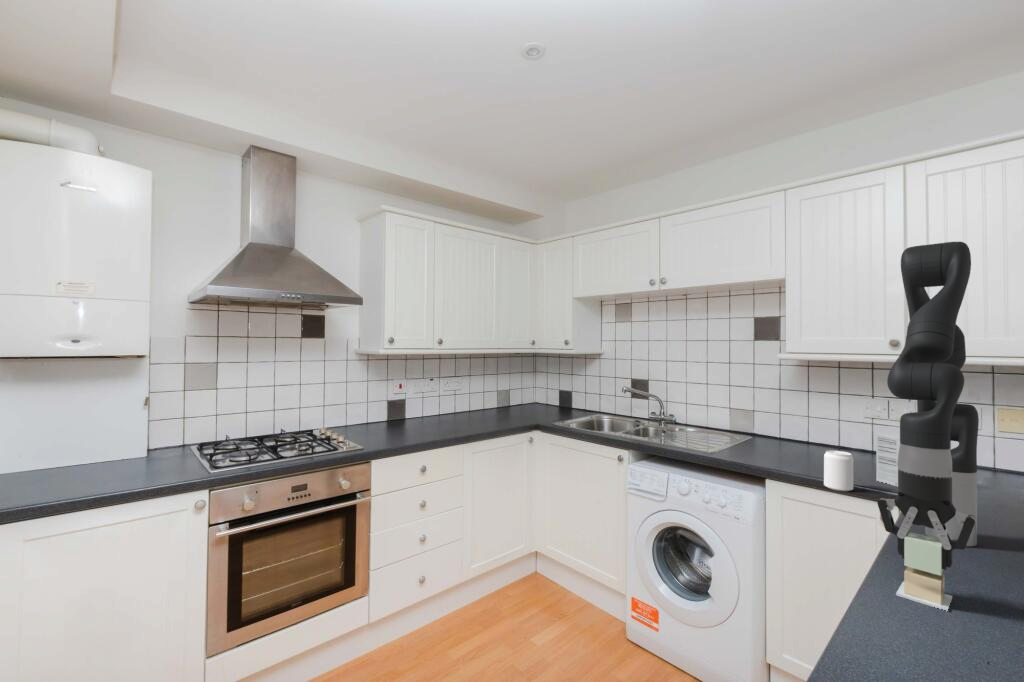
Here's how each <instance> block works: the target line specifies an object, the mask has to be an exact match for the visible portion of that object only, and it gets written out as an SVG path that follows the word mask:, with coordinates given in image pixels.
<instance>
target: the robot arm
mask: <svg viewBox="0 0 1024 682" xmlns="http://www.w3.org/2000/svg"><path fill="white" fill-rule="evenodd" d="M971 268H972V254H971V250H970V247H969V246H968V245H967V243H966V242H963V241H947V242H946V241H945V242H939V243H931V244H921V245H915V246H914V245H913V246H908V247H907V248H906V249H904V251H903V252H902V253H901V256H900V272H901V279H902V284H903V289H904V294H905V298H906V305H907V309H908V310H907V311H908V317H909V321H908V325H907V329H906V336H905V343H904V347H903V349H902V351H901V352H900V353H899V356H898V357H897V358H896V360H895V361H894V363H893V365H892V366H891V368H890V370H889V372H888V376H887V379H886V380H887V387H888V390H889V391H890V393H891V394H892V395H893V396H895V397H896V398H898V399H902V400H912V401H913V400H916V403H917V405H916V406H917V408H916V412H907V413H904V414H902V415H901V416H900V419H899V420H900V421H899V435H900V447H899V453H898V461H897V466H898V487H897V495H896V497H894V498H885V497H881V498H879V499H878V500H877V502H876V503H877V507H878V509H879V514H880V516H881V521H882V523H883V526H884V530H885V531H886V532H888V533H891V534H893V535H895V536H896V537H897V553H898V555H901V559H902V560H904V538H905V537H906V535H907V534H908V533H909V532H910V530H911V527H912V525H917V526H924V532H925V533H924V535H925V536H929V537H934V538H938V539H939V540H940V542H941V544H942V569H944V570H943V571H947V569H949V568H950V569H951V567H952V566H953V561H954V560H953V558H954V557H953V552H954V551H953V550H961V551H962V550H965V549H966V547H975V546H978V462H977V460H978V457H977V456H978V455H977V453H978V451H977V450H978V449H977V446H978V438H979V437H978V435H979V422H980V421H979V420H980V419H979V418H980V417H979V413H978V410H977V408H976V407H975V406H974V405H972V404H968V403H958V402H959V400H960V396H961V394H962V392H963V389H964V386H965V376H964V373H963V372H962V370H961V369H962V368H963V367H964V365H965V363H966V360H967V355H966V354H967V352H966V336H965V334H964V332H963V330H962V329H961V328H960V327H959V325H957V319H958V315H959V312H960V308H961V306H962V304H963V300H964V297H965V295H966V290H967V287H968V286H967V285H968V284H969V281H970V277H971V276H970V275H971V270H972V269H971ZM932 287H942V288H941V289H940V290H939V291H938V292H937V293H936V294H935V295H934V296H933V297H932V298H930V296H929V293H928V292H927V289H926V288H932ZM951 441H953V442H957V443H958V445H957V446H956V447H953V448H952V449H951ZM895 506H896V507H897V508H898V510H899V511H900V512H901V514H902V515H903V516H904V518H903V521H902V522H901V525H900V526H897V525H896V524H895V520H894V517H893V513H892V512H891V511H893V510H894V507H895Z"/></svg>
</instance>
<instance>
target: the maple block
mask: <svg viewBox="0 0 1024 682" xmlns="http://www.w3.org/2000/svg"><path fill="white" fill-rule="evenodd" d="M903 572H904V573H903V576H904V577H903V578H904V579H903V581H904V594H907V595H910V596H914V597H917V598H920V599H923V600H926V601H930V602H933V603H936V604H939V605H941V603H942V601H943V598H944V594H945V573H944V572H942V574H941V576H940V575H936V574H933V573H929V572H926V571H922V570H918V569H915V568H911V567H908V566H906V568H905V570H904V571H903Z"/></svg>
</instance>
